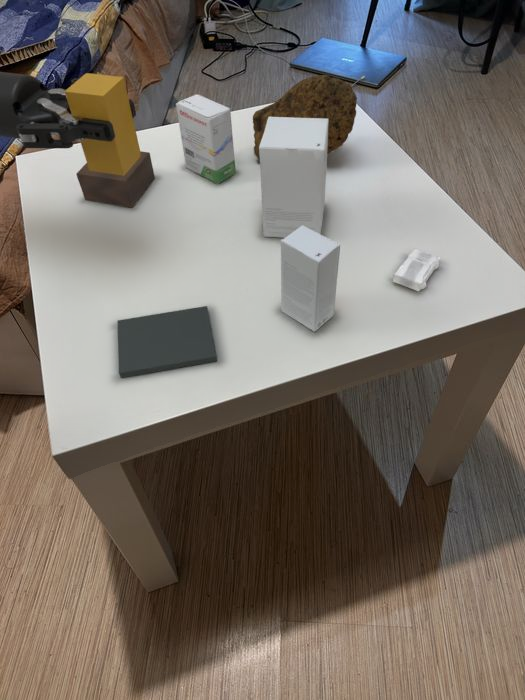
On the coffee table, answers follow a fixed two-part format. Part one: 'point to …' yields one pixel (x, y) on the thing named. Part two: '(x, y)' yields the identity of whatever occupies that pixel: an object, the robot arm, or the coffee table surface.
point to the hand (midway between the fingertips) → (122, 120)
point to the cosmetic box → (309, 277)
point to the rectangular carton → (293, 174)
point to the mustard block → (109, 105)
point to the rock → (313, 108)
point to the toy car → (416, 270)
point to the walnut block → (117, 183)
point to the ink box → (206, 137)
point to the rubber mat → (165, 341)
